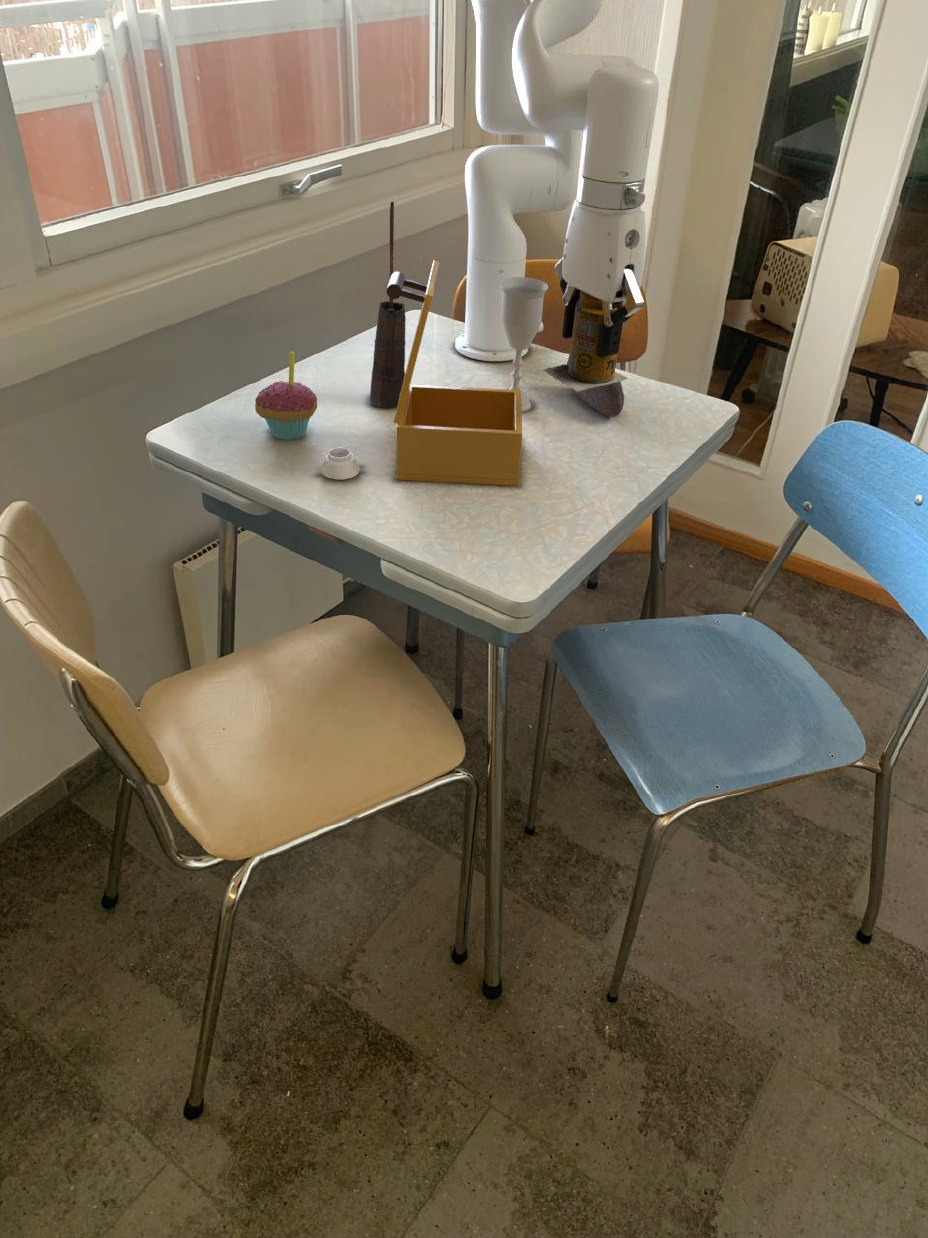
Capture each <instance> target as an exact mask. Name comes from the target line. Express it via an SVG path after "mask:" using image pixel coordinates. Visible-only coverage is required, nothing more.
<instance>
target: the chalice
mask: <svg viewBox="0 0 928 1238" xmlns="http://www.w3.org/2000/svg"><path fill="white" fill-rule="evenodd" d="M500 286H501V289H502V292H503V295H502V311H501V321H502V325H503V329H504V332H505V335H506V337H507V340H508V343H509V345H510V347H511V348H513V349H515V353H516V355H515V358H514V359H513V360H512V363H513V368H514V369H513V371H512V372H511V373H510V375H511V376H512V379H513V382H512V384H511V386H509V387H507V388H506V389H508V390H521V407H522V412H525V411H528V410H530V409H531V407H532V404H531V402H530V398H529V396H528V392H527V391H526V389H525V388H522V386H521V384H520V381H521V377H522V376H523V375H524V374H523V373H522V370H521V368H522V365H524V361H523V356H521V354H522V351H523V350H525V349H527V348H528V349H529V347H530V346H531V344H532V342H533V340H534V339H535V337H536V336H537V334H538V332H537V331H538V329H539V326H540V324H541V321H542V320H543V307H544V298H545V294H546V293H547V291H548V289H549V285H548V284H547V283H546V282H545V281H543V280H540V279H538V278H533V277H527V276H525V277H510V278H506V279H503V280H501V281H500ZM542 322H543V321H542Z"/></svg>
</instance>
